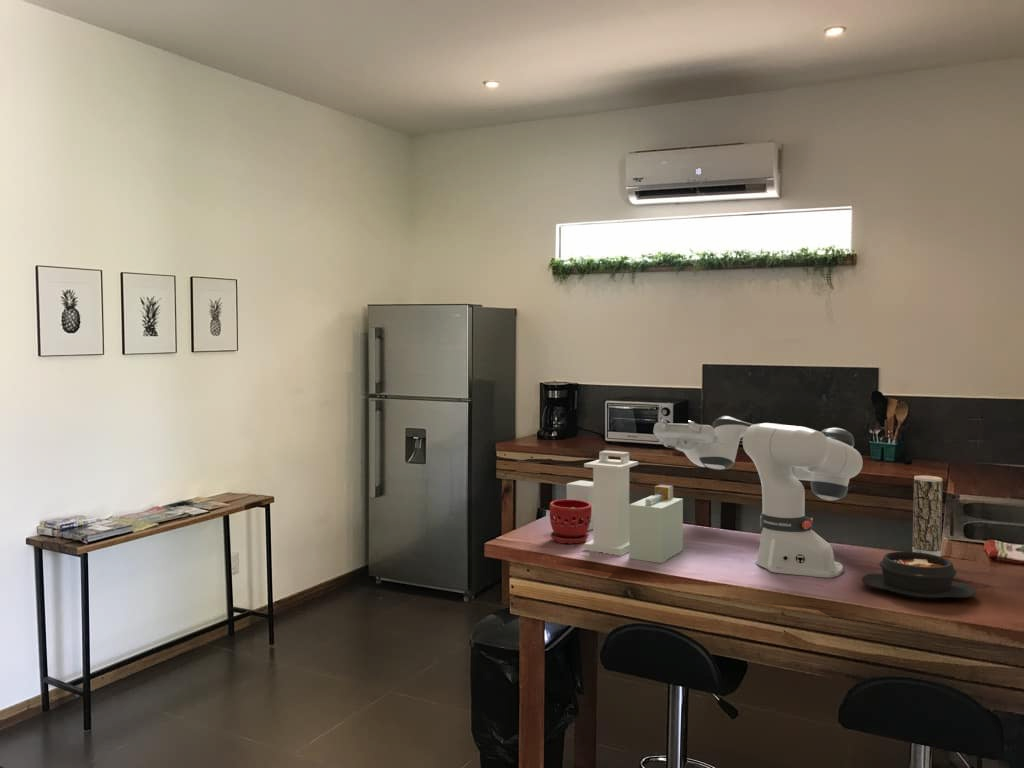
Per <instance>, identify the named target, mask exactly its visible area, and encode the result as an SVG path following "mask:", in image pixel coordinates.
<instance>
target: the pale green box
mask: <svg viewBox="0 0 1024 768" xmlns="http://www.w3.org/2000/svg"><path fill="white" fill-rule="evenodd" d="M652 496H653V495H649V496H647V497H644V498H641V499H639V500H637V501H635V502H632V503H629V552H628V558H629V559H633V560H639V561H646V562H652V563H658V564H659V563H660V564H663V563H665V562H666V561H668V560H669V558H670V557H671V558H673V557H674V556H676V555H678V554H679V553H681V552H682V550H683V541H684V540H683V539H684V538H683V537H684V536H683V535H684V532H683V527H684V526H683V525H684V514H683V512H684V498H678V497H673V498H671V499H670V500H662V501H659V502H657V503H655V504H653V505H646V499H648V498H650V497H652ZM680 551H681V552H680ZM677 553H678V554H677ZM675 554H676V555H675ZM673 555H674V556H673ZM672 556H673V557H672ZM671 558H670V559H671ZM667 559H668V560H667Z"/></svg>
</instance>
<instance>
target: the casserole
mask: <svg viewBox="0 0 1024 768" xmlns="http://www.w3.org/2000/svg"><path fill="white" fill-rule="evenodd" d="M879 567H880V568H881V570H882V573H867V574H865V575H863V576H862V577H861V582H862V583H863V584H865V585H866V586H868V587H870V588H873V589H874V588H875V589H879V590H884V591H889V592H892V593H894V594H897V595H899V596H903V597H905V598H911V599H916V600H917V599H918V600H938V599H942V598H956V599H957V598H958V599H961V598H970V597H973V596H975V595H976V593H977V592H976V590H975V589H974V588H973V587H972V586H970V585H969V584H967V583H964V582H959V581H954V580H953V579H954V578H955V577H954V576H956V575H957V573H958V572H957V570H956V569H955V568H954V564H953V562H952V561H951V560H949V559H947V558H945V557H942V556H941V557H939V556H935V555H931V554H926V553H918V552H913V551H893V552H889V553H888V552H887V553H886V554H884V555H883V558H882V560H881V561H880V562H879Z"/></svg>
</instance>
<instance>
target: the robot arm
mask: <svg viewBox="0 0 1024 768" xmlns="http://www.w3.org/2000/svg"><path fill="white" fill-rule="evenodd" d="M652 432H653V434H654V436H655V437H656V438H657V439H658V440H659V441H660V442H661V443H663V446H664V447H666V448H670V449H674V450H677V451H680V452H683V453H684V455H685V456H686V458H687V459H688V460H689V461H690V462H692V463H693V464H694V465H696V466H698V467H701V468H706V469H711V470H714V471H725V470H727V469H730V468H731V467H733V466H734V465H735V461H736V458H737V453H738V449H739V444H740V442H741V441H740V440H741V439H742V446H743V447H742V448H743V451H744V452H745V453H746V455H747V456H749V458H750V459H751V460H752V462H753V463H754V465H755V468H756V470H757V473H758V476H759V480H760V483H761V493H762V494H761V496H762V500H761V501H762V503H761V505H762V512H761V513H760V518H759V528H760V535H761V536H760V542H759V548H758V553H757V557H756V559H755V564H756V565H758V566H759V567H762V568H764V569H766V570H768V571H769V572H771V573H775V574H776V573H777V574H787V575H796V576H807V577H815V578H817V577H818V578H828V579H829V578H834V577H837V576H840V575H841V574H842V573H843V571H844V567H843V564H842V563H841V562H839V561H835V555H834V551H833V548H832V546H831V544H830V543H829V542H827V541H826V540H825V539H824V538H822V537H821V536H820V535H819V534H817V533H816V532H815V531H814V530H812V528H813V520H814V519H813V517H809V516H807V515H806V514H805V507H806V506H805V503H806V502H805V501H806V500H805V498H806V495H805V493H806V491H805V486H804V485H803V483H802V482H801V481H808V482H809V483H810V488H811V491H812V493H813V494H814V495H815V496H817V497H819V498H820V499H822V500H826V501H836V500H837V501H838V500H843V498H845V497H846V496H847V494H848V490H849V487H848V486H849V483H850V479H852V478H854V477H856V476H858V475H859V474H860V472H861V471H862V468H863V465H864V463H863V457H862V455H861V453H860V452H859V451H858V450H857V449H856V448H854V447H855V437H854V436H853V434H852V433H851V432H849V431H848V430H846V429H843V428H840V427H828V428H824V429H822V430H821V431H819V430H816V429H814V428H811V427H810V428H809V427H807V426H801V425H799V426H798V425H793V424H792V425H790V424H789V425H788V424H783V423H782V424H781V423H772V422H762V423H754V424H753V423H750V422H746V421H743V420H741V419H737V418H735V417H732V416H729V415H722V416H720V417H718V418H716V419H715V420H714V421H713V422H712V425H709V424H699V423H696V422H695V421H694V420H693V421H691V420H688V423H671V422H670V423H668V421H667V420H666V419H661V422H656V423H654V426H653V431H652Z"/></svg>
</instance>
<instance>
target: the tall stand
mask: <svg viewBox="0 0 1024 768" xmlns="http://www.w3.org/2000/svg"><path fill="white" fill-rule="evenodd" d="M598 454H599V456H598V459H596V460H593V461H590V462H585V463H583V468H592V475H593V476H592V477H593V478H592V480H593V481H592V482H593V529H592V530H593V531H592V533H593V535H592V539H591V540H589V541H587V542H585V543H583V545H584V547H583V549H584V551H586V550H591V551H590V552H593V551H597V552H596V553H599V552H603V553H602V554H606V553H610V554H609V555H612V554H614V556H619V557H620V556H624V555H626V554H627V553H629V504H630V468H632V467H635V466H639V461H636V460H635V461H634V460H630V452H629V451H618V450H617V451H616V450H607V449H605V450H602V451H599V453H598ZM609 457H615V458H620V459H611V458H609Z"/></svg>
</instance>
